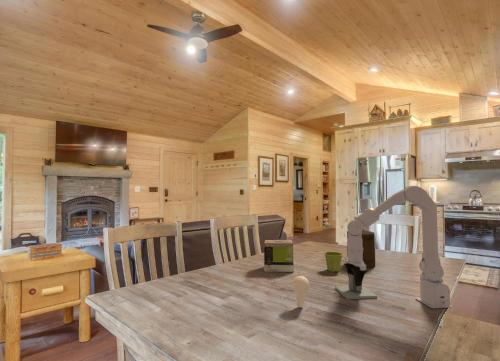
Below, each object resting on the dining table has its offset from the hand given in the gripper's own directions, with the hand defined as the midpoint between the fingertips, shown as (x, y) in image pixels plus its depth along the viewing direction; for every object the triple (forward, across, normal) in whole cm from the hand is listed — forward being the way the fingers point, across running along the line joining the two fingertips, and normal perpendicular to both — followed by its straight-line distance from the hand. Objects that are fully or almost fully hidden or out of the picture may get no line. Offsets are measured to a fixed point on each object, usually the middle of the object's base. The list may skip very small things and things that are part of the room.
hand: (355, 283), depth 119 cm
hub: (+2, 0, 0) cm, 2 cm away
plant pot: (+4, -33, +4) cm, 33 cm away
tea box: (+4, -37, -24) cm, 44 cm away
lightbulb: (+4, +12, -26) cm, 29 cm away
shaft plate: (+4, 0, 0) cm, 4 cm away
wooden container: (+4, -43, +24) cm, 49 cm away
